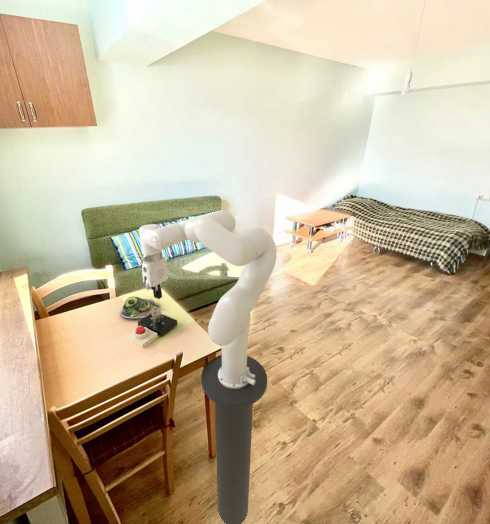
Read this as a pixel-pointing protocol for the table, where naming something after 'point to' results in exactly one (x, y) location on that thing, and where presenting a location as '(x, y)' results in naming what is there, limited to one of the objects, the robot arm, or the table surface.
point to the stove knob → (156, 316)
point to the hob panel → (160, 327)
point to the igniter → (142, 337)
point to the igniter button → (140, 330)
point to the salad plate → (137, 308)
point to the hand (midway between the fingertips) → (158, 297)
